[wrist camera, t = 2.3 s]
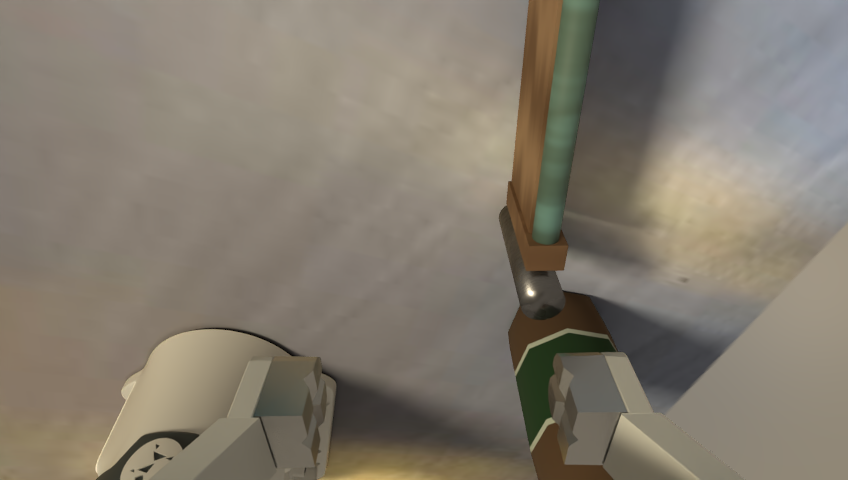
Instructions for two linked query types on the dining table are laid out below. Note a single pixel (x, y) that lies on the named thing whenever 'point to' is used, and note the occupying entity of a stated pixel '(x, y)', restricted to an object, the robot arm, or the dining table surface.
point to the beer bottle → (534, 367)
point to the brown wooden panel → (549, 125)
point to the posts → (531, 279)
